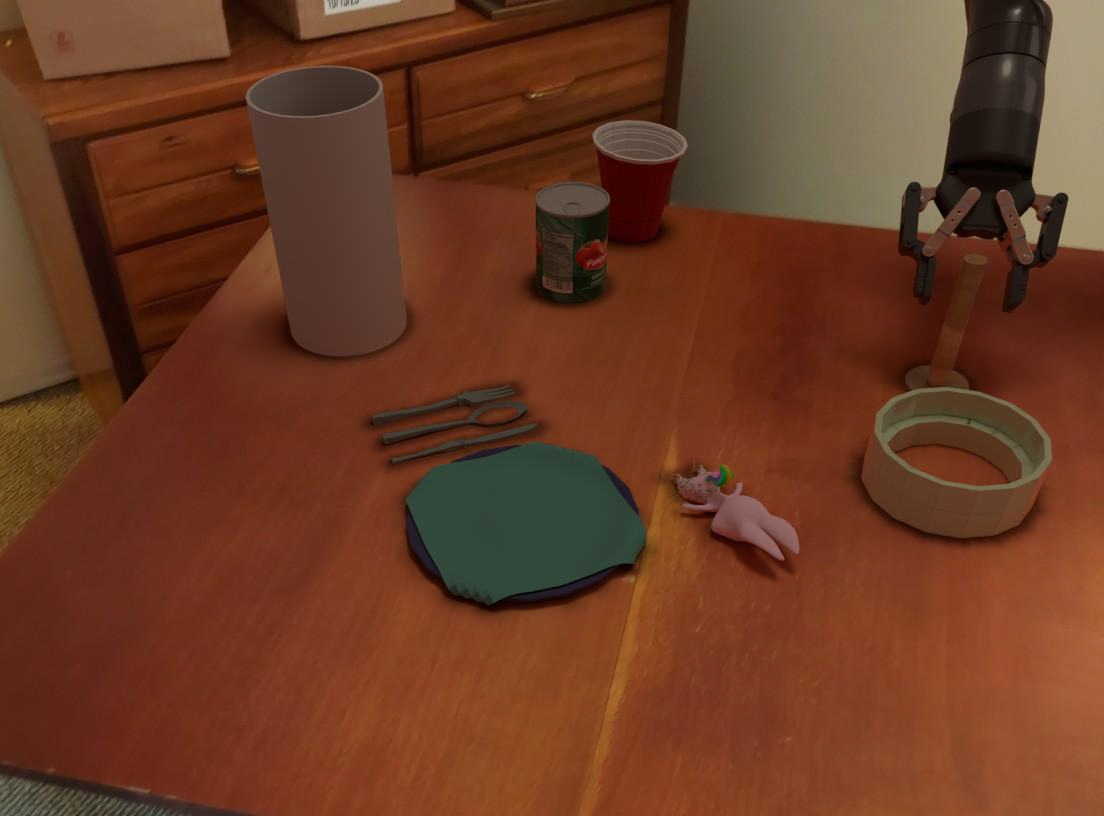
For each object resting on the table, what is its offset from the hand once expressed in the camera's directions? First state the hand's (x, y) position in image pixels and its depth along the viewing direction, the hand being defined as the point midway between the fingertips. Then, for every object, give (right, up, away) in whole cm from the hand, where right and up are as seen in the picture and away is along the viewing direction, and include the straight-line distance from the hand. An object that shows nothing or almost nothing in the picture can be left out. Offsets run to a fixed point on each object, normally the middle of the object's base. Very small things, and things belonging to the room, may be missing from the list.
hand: (966, 306), depth 96 cm
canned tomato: (-34, +8, +23) cm, 42 cm away
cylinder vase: (-59, +2, +19) cm, 62 cm away
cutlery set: (-42, -18, -1) cm, 46 cm away
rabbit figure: (-23, -21, -5) cm, 31 cm away
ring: (-3, -17, -2) cm, 17 cm away
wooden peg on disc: (0, -6, +8) cm, 10 cm away
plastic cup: (-26, +17, +32) cm, 45 cm away
